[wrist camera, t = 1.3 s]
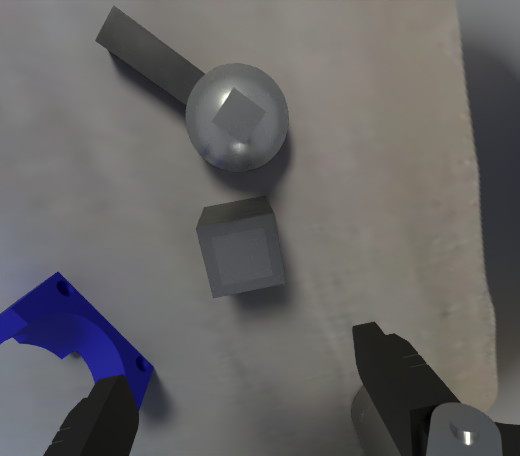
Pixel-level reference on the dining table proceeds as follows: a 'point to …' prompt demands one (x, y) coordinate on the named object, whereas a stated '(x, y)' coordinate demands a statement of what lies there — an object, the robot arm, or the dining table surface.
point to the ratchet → (208, 97)
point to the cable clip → (74, 333)
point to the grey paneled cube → (240, 246)
